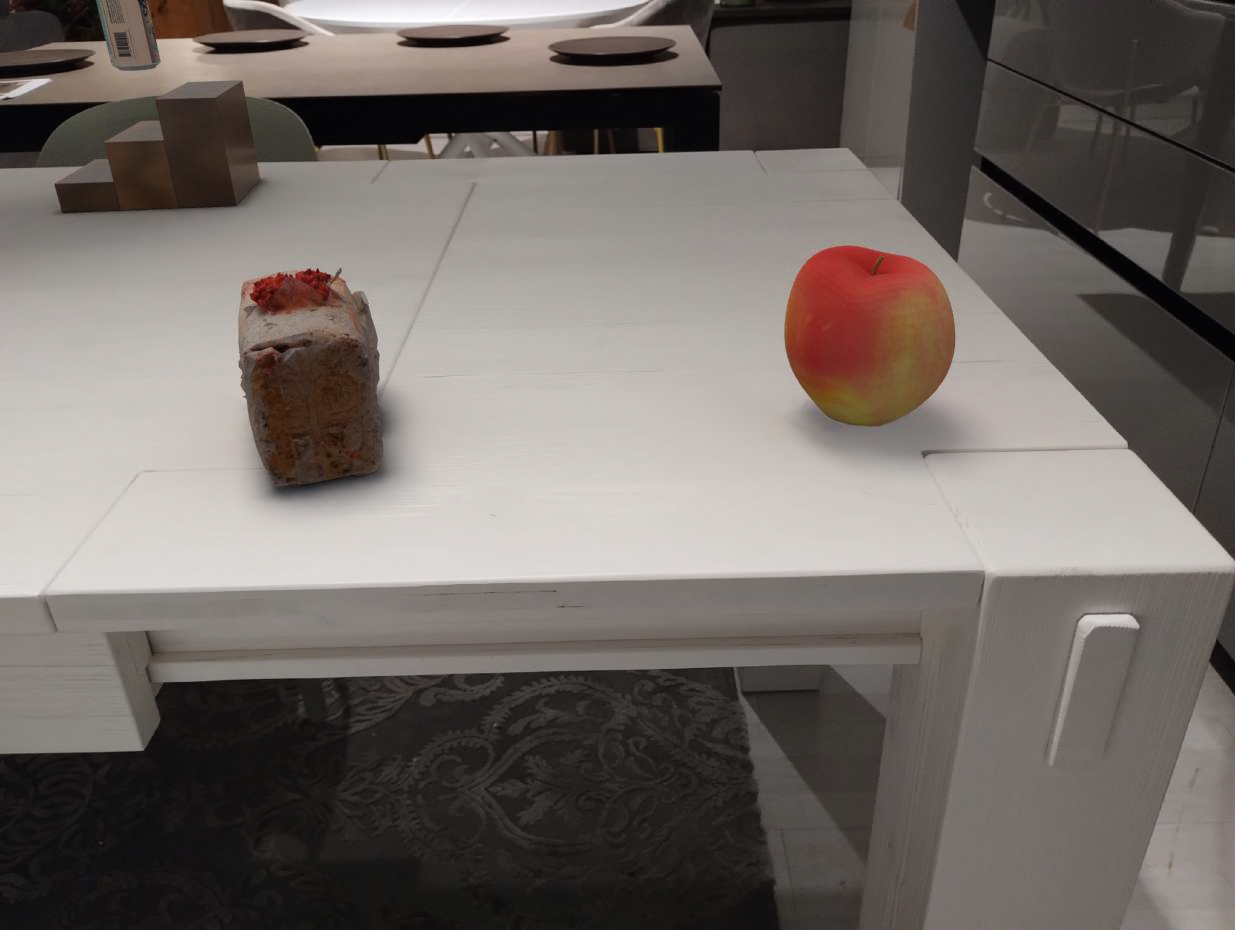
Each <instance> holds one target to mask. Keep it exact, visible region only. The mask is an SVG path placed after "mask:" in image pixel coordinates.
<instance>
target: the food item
mask: <svg viewBox="0 0 1235 930" xmlns="http://www.w3.org/2000/svg"><path fill="white" fill-rule="evenodd" d="M342 269H343V268H342V267H339V268H338V270H336V272H335V275H332V274H330V273H327V272H326V271H324V272H323V271H320V269H319V267H317V268H316V270H314V269H311V267H310V268H306V270H301V269H293V270H291V269H290V270H289V269H288V270H281V271H278V272H275V273H270V274H269V273H268V274H266V275H261V276H260V277H255V278H252V279H246V280H245V281H243V282H242V286H241V291H240V303H239V310H238V317H237V318H238V319H237V320H238V322H237V323H238V325H237V327H238V329H237V330H238V331H237V333H238V341H237V344H238V354H239V360H238V368H239V370H241V375H240V379H241V380H240V384H239V386H240V387H241V389H242V391H243V392H244V394H245V395H243V396H242V398H244V399H246V406H247V415H248V420H249V425H250V430H251V433H252V438H253V440H254V444H255V447H256V450H257V453H258V455H259V457H260V460H261V462H262V464H263V467H264V469H265V471H266V473H267V475H268V476H269V477H270V478H271V479H272V481H273V482H274V484H275V485H276V486H277V487H286V486H287V487H291V486H293V487H300V486H301V485H309V484H315V483H318V482H319V483H320V482H323V481H326V480H327V481H330V480H334V479H337V478H342V477H347V476H355V477H360V476H365V475H370V474H372V473H374V472H376V471H377V470H379V469H380V465H381V463H382V461H383V458H384V442H383V430H382V429H383V426H382V424H383V423H382V416H381V408H380V405H379V401H378V394H377V390H378V385H379V382H380V357H381V355H380V352H379V350H378V342H379V338H378V334H377V330H376V326H375V323H374V319H373V317H372V313H371V310H370V306H369V304H370V303H369V301H368V300H369V299H368V298H367V295H366V293H365V291H364V290H356V291H354V292H353V293H352V292H351V290H350V288H349V287H348V286H347V282H346V280H345V279H343V278H342V277H340V275H341V273H342V272H343V270H342Z"/></svg>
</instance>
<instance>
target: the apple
mask: <svg viewBox="0 0 1235 930" xmlns="http://www.w3.org/2000/svg"><path fill="white" fill-rule="evenodd" d="M783 327H784V329H783V334H784V335H783V337H784V347H785V348H784V349H785V352H786V357H787V360H788V363H789V366H790V369H791V372H792V373H793V375H794V378H795V379H796V380H797V382H798V384H799V385H800V387H801V388H802V389H803V391H804V392H805V394H806V395H807V396H808V397H809V399H810V400H812V402H813V404H815V406H816V407H817V408H818V409H819V410H820V411H821V412H822V413H823V414H825V416H827V417H828V418H829V419H831V420H832V421H835V422H838V423H840V424H845V425H850V426H855V427H870V428H871V427H881V426H884V425H887V424H891V423H892V422H895V421H897V420H899V419H901V418H904V417H905V416H907V415H909V414H911V413H912V412H913V411H915V410H916V409H918V408H919V407H920V406H922V405H923V404H925V402H926V401H928V400H929V399H930V398H931V397H932V396H933V395H934V394H935V393H936V392H937V390H938V389H939V387H940V386H941V385H942V384H943V382H944V380H945V379H946V377H947V375H948V373H949V371H950V369H951V366H952V363H953V360H954V356H955V350H956V338H957V337H956V336H957V335H956V323H955V317H954V312H953V307H952V304H951V301H950V299H949V296H948V293H947V290H946V288H945V287H944V284H943V283H942V281H941V280H940V278H939V277H938V276H937V274H936V273H935V272H934V271H933V270H932V269H931V268H930V267H929V266H928V265H926V264H925V263H923V262H921V261H919V260H917V259H915V258H913V257H910V256H907V255H902V254H895V253H890V252H885V251H880V250H876V249H871V248H869V247H863V246H859V245H850V244H849V245H837V246H832V247H828V248H825V249H822V250H820V251H818V252H816V253H815V254H813V255H812V256H811V257H810V258H808V259H807V260H806V261H805V262H804V264H802V266H801V268H800V269H799V271H798V272H797V274H796V277H795V278H794V281H793V283H792V286H791V289H790V292H789V296H788V299H787V304H786V309H785V315H784V325H783Z"/></svg>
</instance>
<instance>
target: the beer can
mask: <svg viewBox="0 0 1235 930" xmlns="http://www.w3.org/2000/svg"><path fill="white" fill-rule="evenodd" d="M95 3H96V5H97V6H96V8H97V11H98V14H99V19H100V22H101V23H100V24H101V27H102V31H103V37H104V40H105V44H106V48H107V52H108V56H109V61H110V64H111V66H112V67H113V68H115V69H118V71H122V72H136V71H146V70H153V69H156V68H157V66H158V65H159V64H161V62H162V61H161V55H160V52H159V47H158V41H157V37H156V33H155V27H154V24H153V18H152V15H151V11H150V10H151V9H150V6H149V5H150V4H149V0H95Z"/></svg>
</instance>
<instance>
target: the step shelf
mask: <svg viewBox="0 0 1235 930" xmlns="http://www.w3.org/2000/svg"><path fill="white" fill-rule="evenodd" d="M154 103H155V107H156V111H157V117H158V120H141V121H139V122H137V123H134V124H133V125H132V126H130V127H127V128H126V129H124V130H123V131H120V132H119V133H117V134H116V135H114V136H112V137H110V138H109V139H107V140H105V141H103V145H104V149H105V154H106V157H107V158H100V159H99V158H95V159H93V160H92V161H89V162H88V163H87V164H85V165H83V166H81V167H80V168H78V169H76V170H75V171H73V172H72V173H70V174H68V175H66V176H65V177H63V178H61V179H60V180H58V181H56V182H55V183H53V184H54V185H53V186H54V189H55V192H56V196H57V200H58V203H59V206H60V210H61V213H79V212H80V213H81V212H82V213H83V212H104V211H131V210H132V211H133V210H136V211H137V210H158V209H159V210H160V209H183V208H188V209H189V208H213V207H214V208H215V207H236V206H237V205H238V204H240V203H241V201H242V200H243V199H244V198H245V197H246V196H247V195H248V194H249V193H250V192H251V191H252V189H254V187H255V186H256V185H257V184H258V183H259V182H260V181H261V175H260V170H259V164H258V159H257V153H256V148H255V143H254V137H253V130H252V125H251V119H250V114H249V109H248V104H247V103H248V102H247V98H246V93H245V87H244V82H243V80H241V79H240V80H207V81H206V80H205V81H187V82H185V83H182V84H181V85H179V86H178V87H176V88H174V89H172V90H170V91H168V92H166V93H164V94H162V95H161V96H158V97H156V98H155V99H154Z"/></svg>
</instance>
